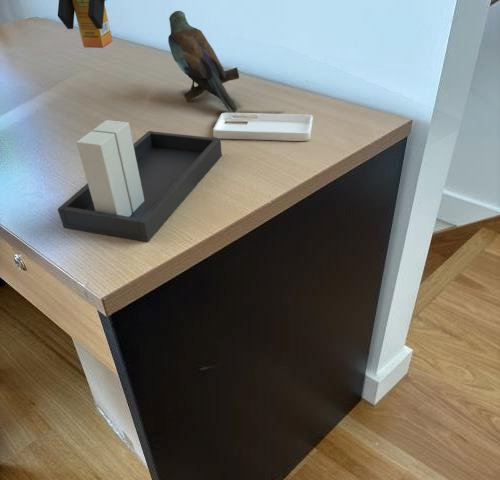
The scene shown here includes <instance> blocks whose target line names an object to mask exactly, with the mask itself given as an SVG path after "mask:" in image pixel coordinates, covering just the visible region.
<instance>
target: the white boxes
mask: <svg viewBox="0 0 500 480" xmlns="http://www.w3.org/2000/svg"><path fill="white" fill-rule="evenodd" d="M133 144H134V141H133V135H132V130H131V126H130V122H129V121H119V120H111V119H110V120H109V119H106V120H104V121H103V122H102V123H100V124H99V125H98V126H96V127H95V128H94V129H92V131H91V130H90V131H89V132H88V133H86V134H85V135H84V136H82V137H81V138H80V139H78V140H77V141H76V147H77V150H78V153H79V157H80V160H81V164H82V168H83V171H84V175H85V178H86V182H87V183H88V186H89V189H90V193H91V197H92V200H93V204H94V207H95V211H97V212H103V213H109V214H116V215H122V216H128V217H130V216H131V214H132V212H134V211H135V210H136V209H137V208H138V207H139V206H140V205H141V204H142V203H143V202H144V196H143V191H142V186H141V181H140V176H139V171H138V166H137V161H136V156H135V151H134V146H133Z"/></svg>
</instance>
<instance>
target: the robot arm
mask: <svg viewBox="0 0 500 480" xmlns="http://www.w3.org/2000/svg"><path fill="white" fill-rule="evenodd" d="M105 3H106V0H89V9H88V17H89V18H90V19H91V21H92V22H93V24H94V25H95V27H96V28H97V29H103V17H104V4H105ZM105 5H106V4H105ZM57 17H58V18H59V20H60V21H61V23H62V24H63V25H64V27H66V30H74V22H75V10H74V6H73V2H72V0H58V7H57Z"/></svg>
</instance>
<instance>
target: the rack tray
mask: <svg viewBox="0 0 500 480" xmlns="http://www.w3.org/2000/svg"><path fill="white" fill-rule="evenodd" d="M133 146H134V151H135V156H136V161H137V166H138V171H139V176H140V181H141V186H142V191H143V196H144V202H143V203H142V204H141V205H140V206H139V207H138V208H137V209H136V210H135V211H134V212H132V214H131V216H130V217H128V216H122V215H116V214H109V213H103V212H97V211H95V207H94V204H93V200H92V197H91V193H90V189H89V186H88V182H87V183H86V184H84V186H82V187H81V188H80V189H79V190H78V191H76V192H75V193H74V194H73V195H72V196H71V197H70V198H68V199H67V200H66V201H65V202H64V203H62V204H61V205H60V206H59V207H58V208H57V211H58V215H59V218H60V220H61V223H62V227H63V228H65V229H70V230H76V231H82V232H88V233H93V234H99V235H105V236H110V237H116V238H121V239H128V240H135V241H140V242H145V243H149V242H150V241H151V239H153V237H154V236H155V235H156V234H157V232H158V231H159V230H160V229H161V228H162V226H164V224H165V223H166V222H167V221H168V220H169V218H170V217H172V215H173V214H174V213H175V211H176V210H177V209H178V208H179V206H180V205H182V203H183V202H184V201H185V200H186V198H187V197H189V195H190V194H191V192H193V190H194V189H195V188H196V187H197V185H198V184H199V183H200V182H201V181H202V180H203V179H204V177H205V176H206V175H207V173H209V172H210V170H211V169H212V168H214V166H215V164H216V163H217V162H218V161H219V160H220V159H221V158H222V156H223V154H222V141H221V138H215V137H208V136H198V135H190V134H181V133H171V132H162V131H153V130H148V131H147V132H146V133H144V134H143V135H142V136H141V137H139V139H137V140H136V141H135V142H133Z"/></svg>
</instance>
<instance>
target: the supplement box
mask: <svg viewBox="0 0 500 480" xmlns="http://www.w3.org/2000/svg"><path fill="white" fill-rule="evenodd" d="M72 2H73V6H74V10H75V13H74V15H75V18H76V21H77V26H78V28H79V34H80V37H81V38H80V39H81V41H82V46H83V48H85V49H86V48H89V49H91V48H92V49H93V48H94V49H104V48H106V47H107V46H109V45H110V44H111V43H112V42H113V36H112V31H111V27H110V23H109V18H108V13H107V9H106V4H104V17H103V29H97V28H96V27H95V25H94V24H93V22H92V21H91V19H90V18H89V17H88V9H89V0H72Z"/></svg>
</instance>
